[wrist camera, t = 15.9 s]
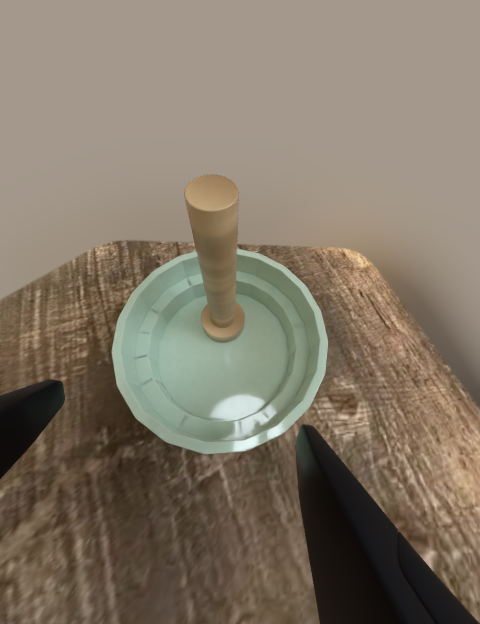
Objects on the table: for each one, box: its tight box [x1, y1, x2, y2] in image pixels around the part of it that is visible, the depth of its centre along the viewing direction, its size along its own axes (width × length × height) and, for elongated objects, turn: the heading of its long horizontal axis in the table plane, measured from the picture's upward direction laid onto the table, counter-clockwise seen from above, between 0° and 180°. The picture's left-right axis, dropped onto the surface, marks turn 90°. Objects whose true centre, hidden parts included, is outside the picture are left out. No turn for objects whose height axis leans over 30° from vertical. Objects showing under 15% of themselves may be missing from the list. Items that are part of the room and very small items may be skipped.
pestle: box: [184, 175, 245, 343], centre depth 15 cm, size 4×4×14 cm
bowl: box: [112, 249, 328, 454], centre depth 19 cm, size 15×15×6 cm
